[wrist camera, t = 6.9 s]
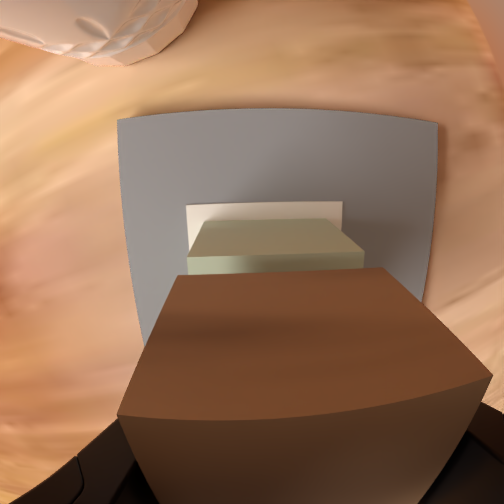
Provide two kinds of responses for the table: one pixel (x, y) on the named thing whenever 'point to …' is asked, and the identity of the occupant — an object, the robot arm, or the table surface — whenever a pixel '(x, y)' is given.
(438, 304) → the table surface
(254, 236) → the sage cube
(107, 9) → the white cup
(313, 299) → the walnut cube
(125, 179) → the building board
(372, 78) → the table surface
